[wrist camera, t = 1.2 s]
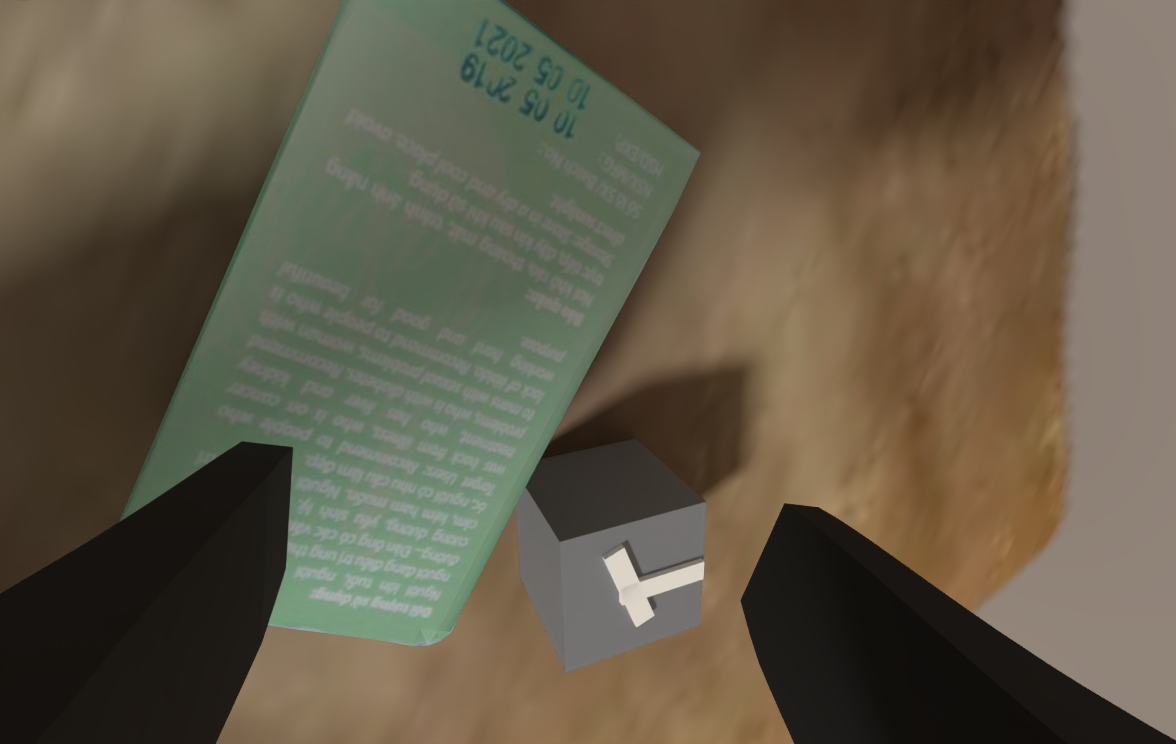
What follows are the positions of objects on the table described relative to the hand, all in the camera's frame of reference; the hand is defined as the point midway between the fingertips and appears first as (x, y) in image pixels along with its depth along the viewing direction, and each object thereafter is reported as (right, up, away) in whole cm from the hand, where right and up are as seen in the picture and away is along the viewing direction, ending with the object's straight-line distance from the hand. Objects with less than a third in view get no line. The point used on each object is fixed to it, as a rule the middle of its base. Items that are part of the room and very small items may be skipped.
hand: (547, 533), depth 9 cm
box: (-6, +5, +10) cm, 12 cm away
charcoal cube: (0, -3, +15) cm, 15 cm away
